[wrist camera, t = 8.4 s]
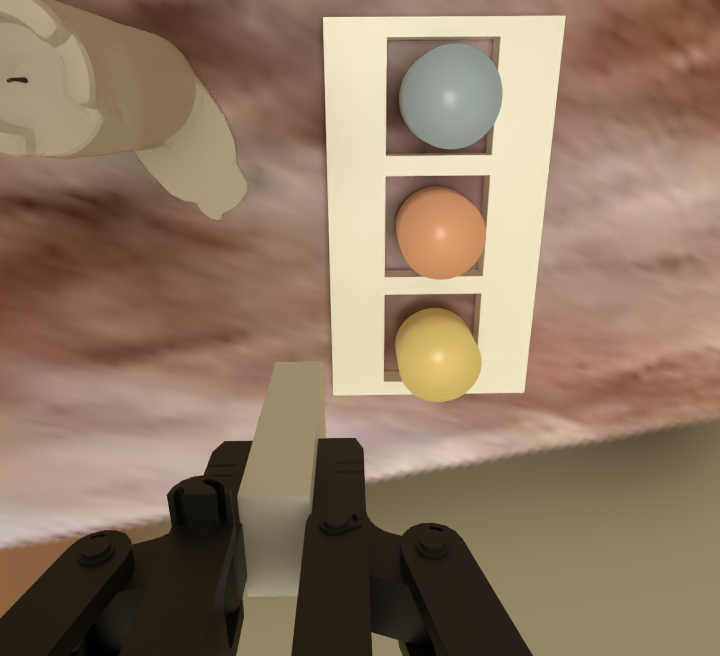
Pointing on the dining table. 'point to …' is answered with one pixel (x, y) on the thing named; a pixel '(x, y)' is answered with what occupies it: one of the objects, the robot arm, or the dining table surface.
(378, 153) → the panel
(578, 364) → the dining table surface
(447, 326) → the ochre button
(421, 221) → the terracotta button
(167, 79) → the beige tall tapered piece
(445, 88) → the slate-blue button
